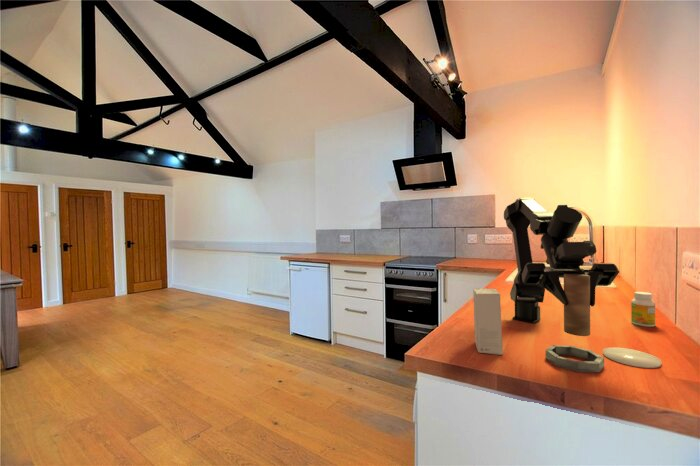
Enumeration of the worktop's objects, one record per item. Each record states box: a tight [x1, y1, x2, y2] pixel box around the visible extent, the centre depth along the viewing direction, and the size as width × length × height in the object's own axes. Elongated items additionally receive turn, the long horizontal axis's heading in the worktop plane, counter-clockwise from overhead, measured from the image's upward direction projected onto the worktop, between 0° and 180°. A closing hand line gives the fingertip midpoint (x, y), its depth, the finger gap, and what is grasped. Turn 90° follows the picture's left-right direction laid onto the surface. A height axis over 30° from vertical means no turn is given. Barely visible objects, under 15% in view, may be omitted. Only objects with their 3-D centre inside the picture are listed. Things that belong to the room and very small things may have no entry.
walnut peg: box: [563, 274, 591, 337], centre depth 70 cm, size 5×5×13 cm
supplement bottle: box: [630, 291, 656, 328], centre depth 96 cm, size 5×5×10 cm
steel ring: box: [545, 344, 605, 374], centre depth 70 cm, size 10×10×2 cm
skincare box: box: [472, 288, 504, 356], centre depth 79 cm, size 8×6×15 cm
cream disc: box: [602, 346, 662, 369], centre depth 72 cm, size 10×10×1 cm
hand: (579, 305), depth 69 cm, fingers closed on walnut peg, 5 cm apart
